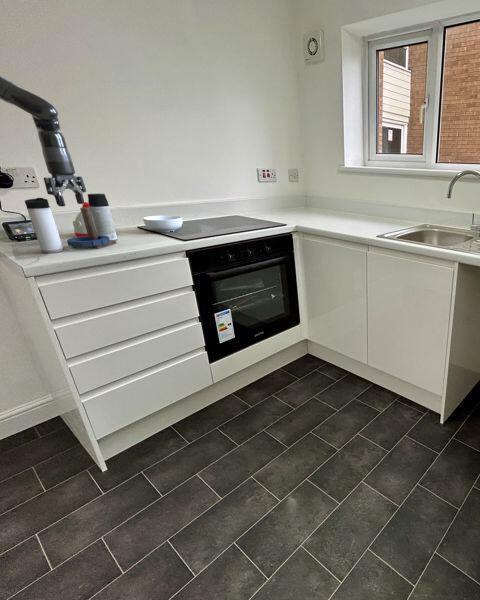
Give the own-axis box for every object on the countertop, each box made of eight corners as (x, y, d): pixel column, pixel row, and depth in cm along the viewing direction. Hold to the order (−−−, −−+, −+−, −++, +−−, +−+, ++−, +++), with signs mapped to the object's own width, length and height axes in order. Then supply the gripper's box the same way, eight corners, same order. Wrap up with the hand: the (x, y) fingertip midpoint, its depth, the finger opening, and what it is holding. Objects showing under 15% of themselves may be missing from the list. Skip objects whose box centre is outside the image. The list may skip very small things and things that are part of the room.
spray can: (117, 237, 162) (105, 193, 155) (117, 240, 158) (105, 194, 150) (99, 239, 159) (86, 193, 151) (98, 242, 154) (85, 194, 146)
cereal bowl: (178, 234, 175) (176, 219, 173) (140, 234, 171) (137, 220, 168) (188, 228, 190) (186, 214, 188) (153, 228, 186) (150, 215, 183)
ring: (94, 247, 139) (92, 242, 138) (60, 246, 138) (58, 241, 138) (117, 240, 151) (116, 235, 150) (85, 239, 150) (84, 235, 150)
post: (98, 248, 143) (87, 209, 138) (73, 247, 143) (61, 209, 137) (116, 243, 153) (106, 206, 147) (93, 242, 152) (82, 206, 147)
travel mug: (67, 249, 141) (51, 197, 133) (59, 252, 135) (41, 199, 128) (47, 249, 139) (29, 197, 131) (38, 253, 133) (19, 199, 126)
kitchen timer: (85, 238, 159) (75, 204, 154) (69, 234, 165) (59, 202, 159) (119, 233, 171) (110, 202, 166) (103, 230, 177) (94, 199, 171)
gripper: (65, 160, 137) (77, 202, 143) (29, 159, 124) (44, 206, 130) (84, 161, 137) (96, 203, 143) (51, 160, 124) (65, 207, 130)
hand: (71, 205), depth 136 cm, fingers open, 8 cm apart
